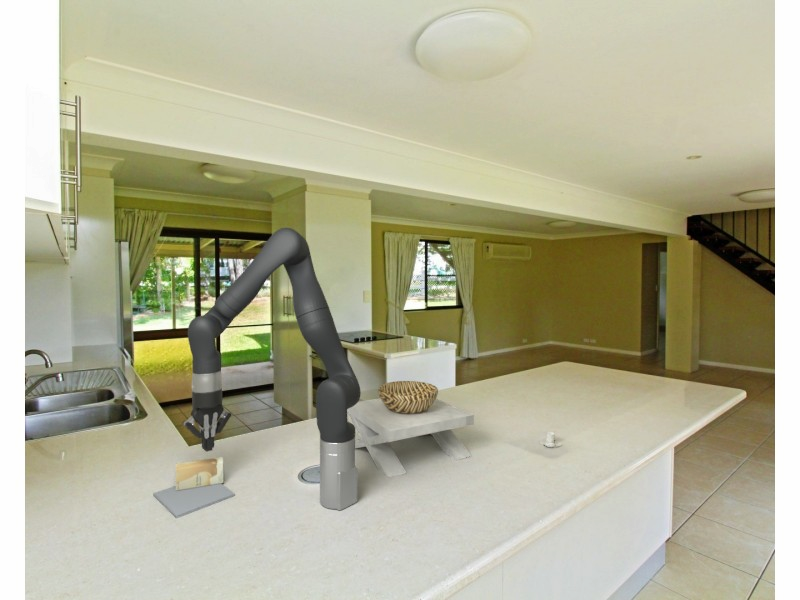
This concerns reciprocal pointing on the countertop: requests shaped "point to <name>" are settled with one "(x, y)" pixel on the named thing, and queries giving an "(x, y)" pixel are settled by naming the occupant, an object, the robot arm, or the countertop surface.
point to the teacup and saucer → (550, 439)
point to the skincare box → (199, 473)
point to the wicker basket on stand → (406, 422)
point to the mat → (191, 498)
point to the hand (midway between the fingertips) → (208, 450)
